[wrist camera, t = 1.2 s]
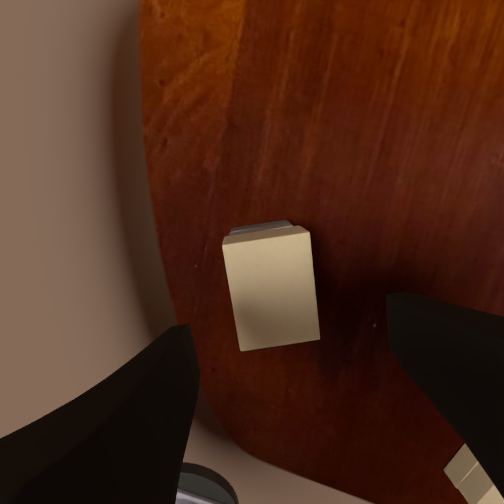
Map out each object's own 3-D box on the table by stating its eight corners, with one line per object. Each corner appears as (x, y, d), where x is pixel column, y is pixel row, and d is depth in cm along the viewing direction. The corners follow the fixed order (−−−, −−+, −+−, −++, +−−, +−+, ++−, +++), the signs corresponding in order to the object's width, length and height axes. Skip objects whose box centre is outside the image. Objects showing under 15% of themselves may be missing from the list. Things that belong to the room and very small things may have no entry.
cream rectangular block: (309, 319, 18) (320, 339, 15) (240, 329, 18) (240, 352, 15) (299, 225, 16) (310, 231, 14) (224, 236, 16) (221, 245, 14)
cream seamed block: (526, 455, 25) (567, 493, 22) (495, 491, 26) (529, 533, 23) (472, 431, 24) (507, 468, 21) (442, 470, 25) (471, 510, 22)
